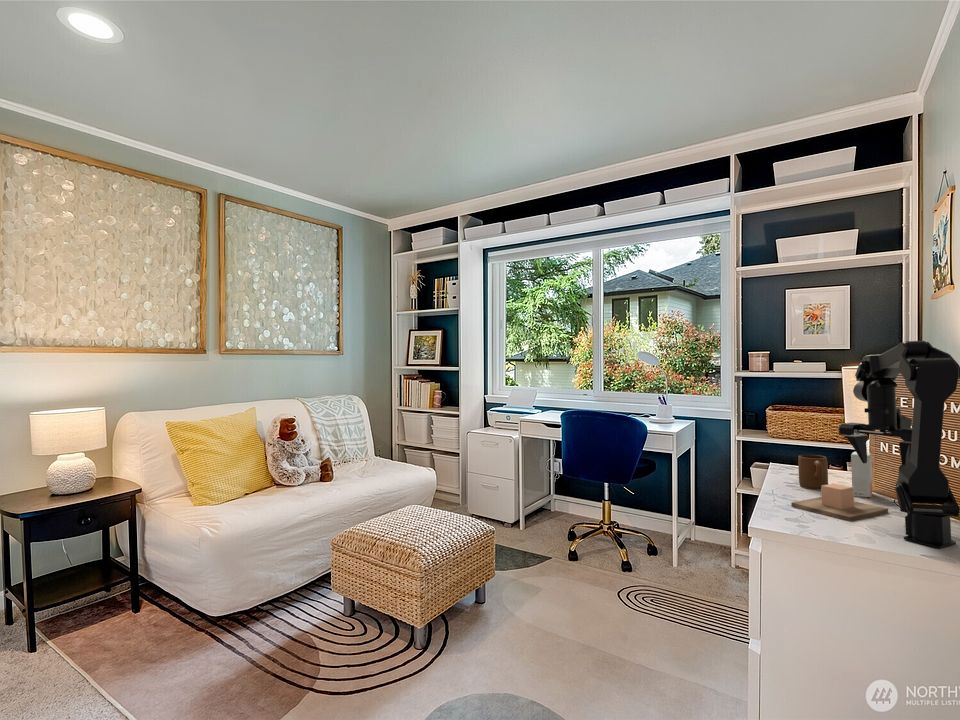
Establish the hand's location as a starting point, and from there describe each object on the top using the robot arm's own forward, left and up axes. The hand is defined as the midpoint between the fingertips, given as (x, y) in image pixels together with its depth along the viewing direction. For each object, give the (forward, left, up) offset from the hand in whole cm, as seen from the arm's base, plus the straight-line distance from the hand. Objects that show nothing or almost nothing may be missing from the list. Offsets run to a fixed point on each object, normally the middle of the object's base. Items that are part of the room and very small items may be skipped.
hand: (884, 466), depth 129 cm
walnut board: (+8, +6, -12) cm, 16 cm away
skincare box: (+14, -14, -12) cm, 23 cm away
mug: (+25, -10, -12) cm, 30 cm away
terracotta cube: (+8, +6, -11) cm, 15 cm away
